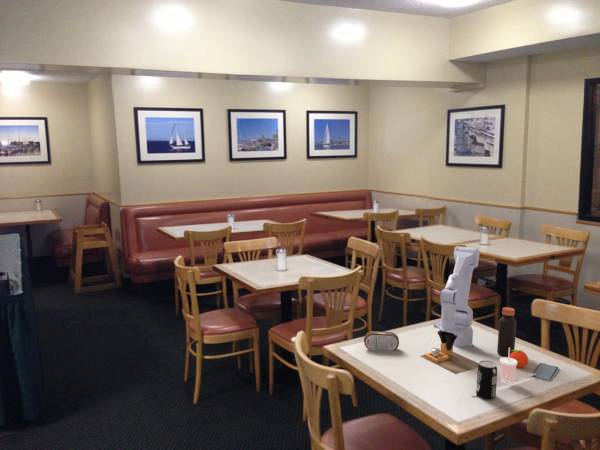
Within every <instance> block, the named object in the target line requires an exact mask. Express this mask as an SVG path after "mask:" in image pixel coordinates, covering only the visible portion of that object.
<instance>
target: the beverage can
mask: <svg viewBox="0 0 600 450" xmlns="http://www.w3.org/2000/svg"><path fill="white" fill-rule="evenodd" d="M478 363H479V365H478V368H477V373H476V387H475V388H476V389H475V393H476V394H477V396H478V397H479V398H480V399H484V400H493V399H494V398H496V396H497V382H498V371H499V370H498V367H497V363H496V362H493V361H491V360H480V361H479V362H478Z"/></svg>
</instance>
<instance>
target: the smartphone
mask: <svg viewBox="0 0 600 450" xmlns="http://www.w3.org/2000/svg"><path fill="white" fill-rule="evenodd" d="M559 370H560V368H559V367H558V366H555V365H550V364H547V363H542V362H541V363H538V365H537V366H535V368H534V370H533V371H532V374H534V375H531V376H530V378H534V379H537V380H540V381H546V382H552V381H553V379H554V377H555V376H556V375H557V372H559Z"/></svg>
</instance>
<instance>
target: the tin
mask: <svg viewBox="0 0 600 450" xmlns="http://www.w3.org/2000/svg"><path fill="white" fill-rule="evenodd" d="M363 343H364V346H365V348H366V349H367V350H368V351H374V350H375V351H377V350H380V351H396V350H397V349H398V348H399V345H400V339H399V337H398V335H397V334H396V333H394V332H392V331H379V330H378V331H376V330H375V331H374V330H372V331H368V332H367V333H366V334H365V335H364V337H363Z"/></svg>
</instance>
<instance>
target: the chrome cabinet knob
mask: <svg viewBox="0 0 600 450" xmlns="http://www.w3.org/2000/svg"><path fill="white" fill-rule="evenodd" d="M440 351H441V348H437V347H432V348H431V350H430V352H432V356H433V357H435V358H438V353H439V352H440Z"/></svg>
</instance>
